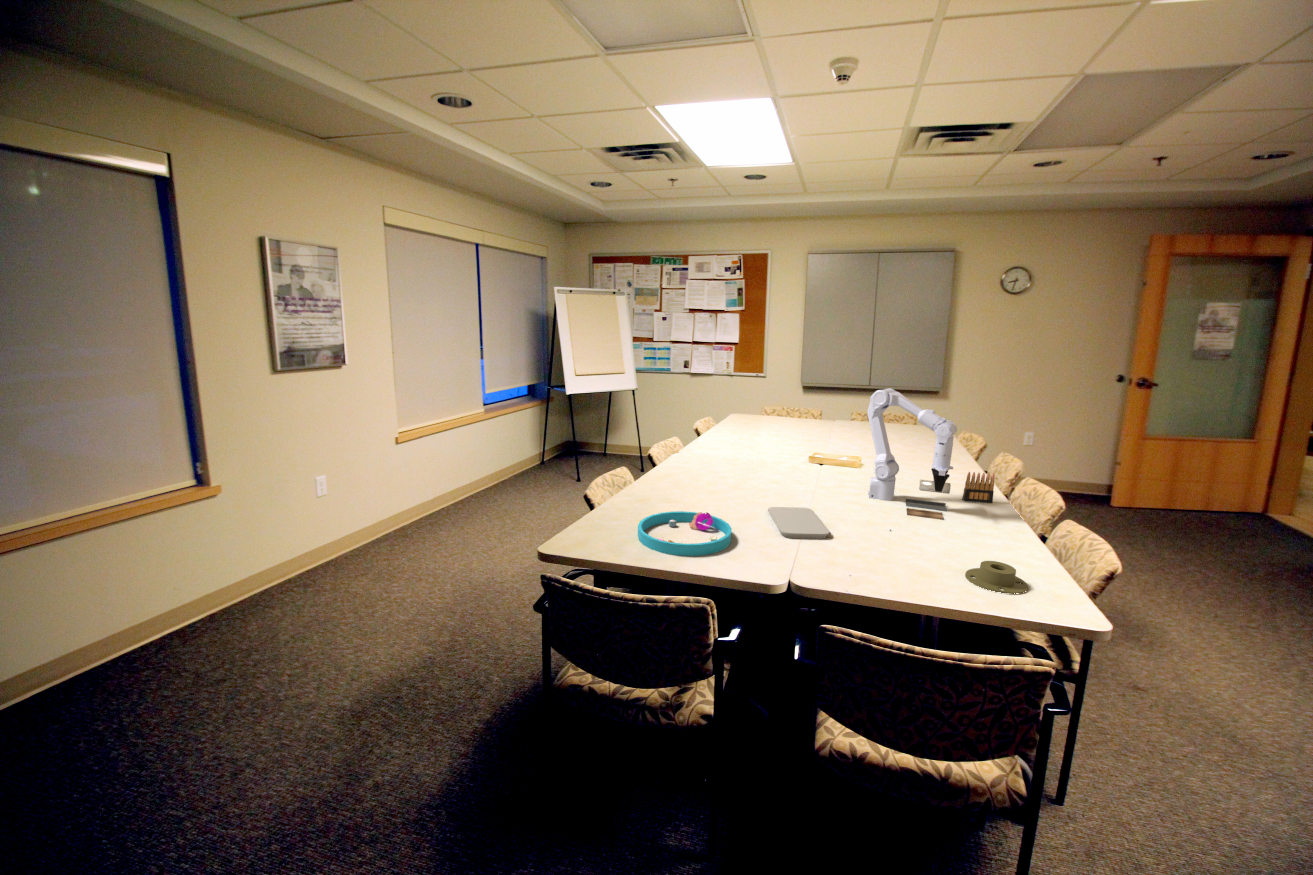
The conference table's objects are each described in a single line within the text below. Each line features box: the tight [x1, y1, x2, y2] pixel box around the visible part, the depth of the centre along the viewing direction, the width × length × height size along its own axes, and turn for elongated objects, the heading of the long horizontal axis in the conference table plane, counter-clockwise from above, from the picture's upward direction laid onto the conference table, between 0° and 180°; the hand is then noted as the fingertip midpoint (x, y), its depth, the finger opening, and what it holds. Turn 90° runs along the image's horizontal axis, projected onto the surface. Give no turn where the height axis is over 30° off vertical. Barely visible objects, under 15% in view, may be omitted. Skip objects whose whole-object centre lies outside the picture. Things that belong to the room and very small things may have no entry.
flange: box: [965, 560, 1029, 595], centre depth 158 cm, size 5×15×15 cm
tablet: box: [767, 506, 830, 540], centre depth 198 cm, size 16×26×2 cm, turn 0°
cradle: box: [905, 497, 948, 512], centre depth 219 cm, size 14×7×2 cm, turn 69°
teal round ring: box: [637, 510, 732, 557], centre depth 185 cm, size 30×30×6 cm
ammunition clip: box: [961, 471, 995, 504], centre depth 228 cm, size 11×2×12 cm, turn 80°
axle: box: [918, 479, 952, 495], centre depth 213 cm, size 10×4×4 cm, turn 68°
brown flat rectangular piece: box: [905, 507, 945, 521], centre depth 209 cm, size 12×7×2 cm, turn 69°
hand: (937, 489), depth 213 cm, fingers closed on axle, 4 cm apart
